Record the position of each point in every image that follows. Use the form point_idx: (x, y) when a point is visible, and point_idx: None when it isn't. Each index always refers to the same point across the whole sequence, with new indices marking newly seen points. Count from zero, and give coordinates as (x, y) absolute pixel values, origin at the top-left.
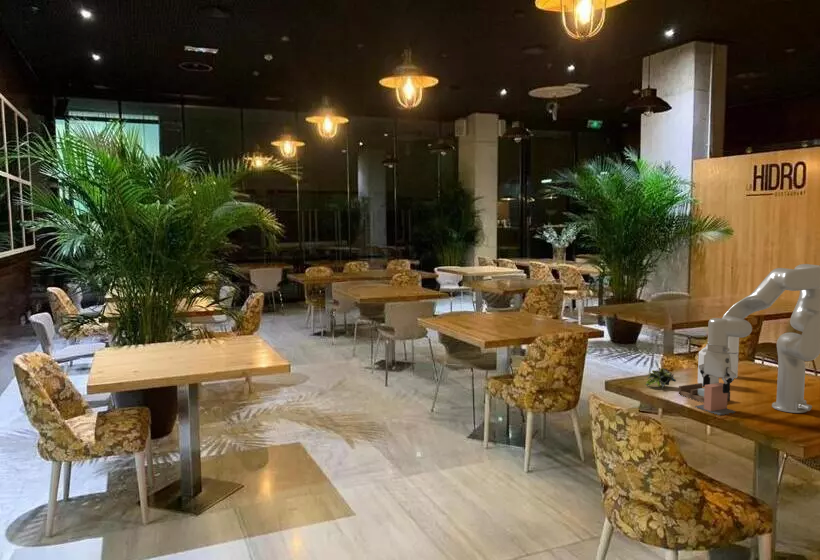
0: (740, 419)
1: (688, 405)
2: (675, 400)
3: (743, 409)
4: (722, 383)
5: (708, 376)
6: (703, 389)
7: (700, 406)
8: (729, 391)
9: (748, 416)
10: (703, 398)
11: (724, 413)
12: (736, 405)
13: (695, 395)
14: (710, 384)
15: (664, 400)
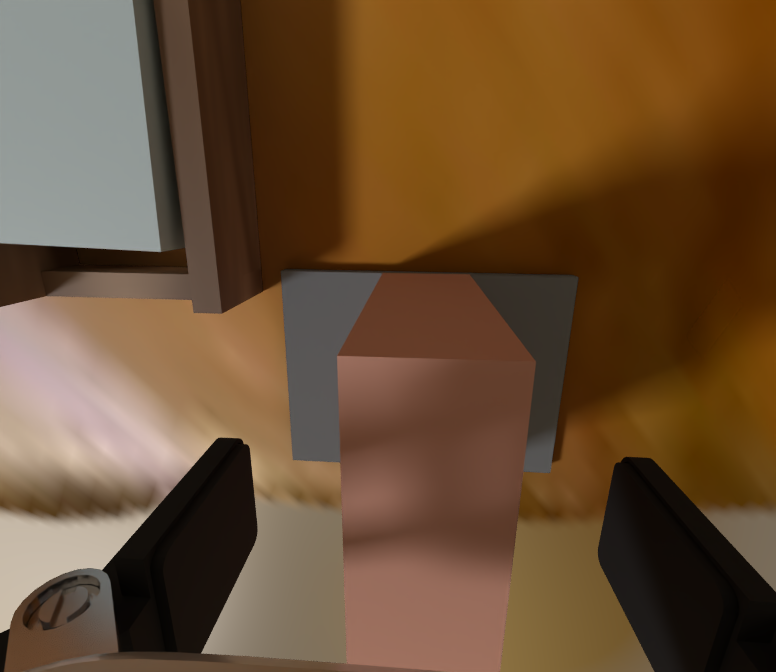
0: (712, 401)
1: None
2: (83, 437)
3: (541, 89)
4: (408, 383)
5: (133, 623)
6: (21, 195)
7: (320, 435)
8: (655, 466)
9: (711, 261)
10: (190, 299)
11: (557, 418)
12: (402, 23)
13: (74, 285)
14: (364, 620)
15: (66, 506)
